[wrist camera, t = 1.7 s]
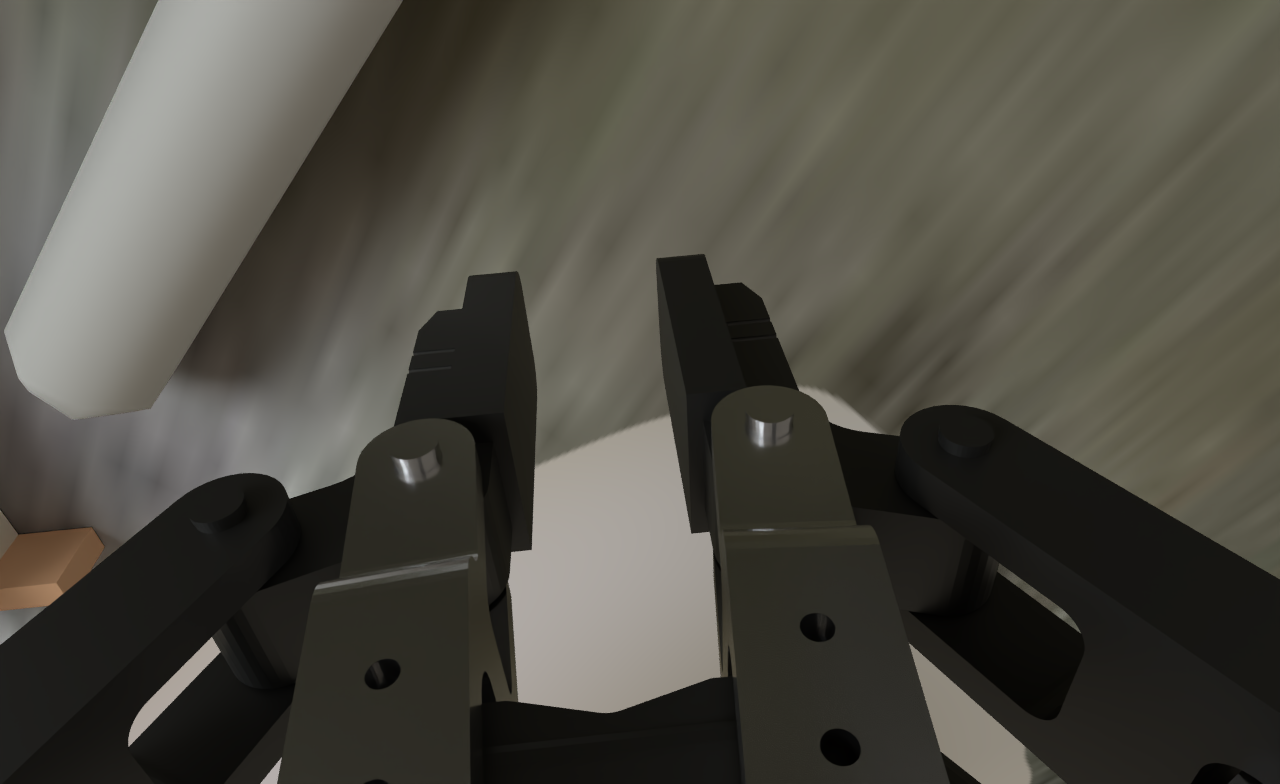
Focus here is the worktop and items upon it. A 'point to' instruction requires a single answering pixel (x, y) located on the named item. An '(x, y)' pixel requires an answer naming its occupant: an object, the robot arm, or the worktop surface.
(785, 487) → the robot arm
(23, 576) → the long cream box
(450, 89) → the worktop surface
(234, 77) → the tube
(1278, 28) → the worktop surface
